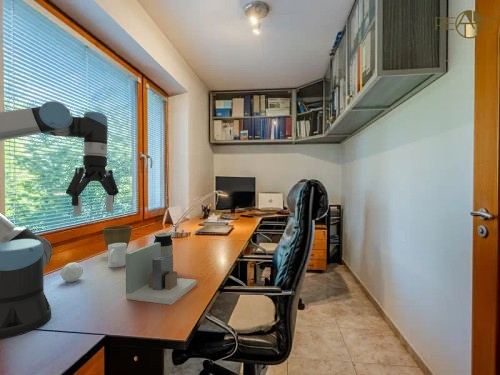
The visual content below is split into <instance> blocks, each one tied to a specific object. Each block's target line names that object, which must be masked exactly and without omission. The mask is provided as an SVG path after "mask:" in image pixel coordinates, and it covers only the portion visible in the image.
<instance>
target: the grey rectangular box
mask: <svg viewBox="0 0 500 375" xmlns="http://www.w3.org/2000/svg"><path fill="white" fill-rule="evenodd" d="M152 270H153V290H159V291H162V290H163V289H165V275H167V274H169V273H170V272H172V271H174V253H173V254H163V255H161V256H159V257H157V258H155V259H152Z"/></svg>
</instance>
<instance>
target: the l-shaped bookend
mask: <svg viewBox="0 0 500 375" xmlns="http://www.w3.org/2000/svg"><path fill="white" fill-rule="evenodd" d="M159 256H161V243H158V242H156V243H154V242H153V243H151V244H148V245H145V246H143V247H140V248H136V249H134V250H132V251H127V253H125V262H126V265H125V300H131V301H132V300H133V301H139V302H146V303H155V304H162V305H169V306H171V305H173V304H174V303H176V302H177V301H178V300H179V299H181V298H182V297H183V296H185V294H187V293H188V292H189V291H190V290H191V289H193V288H195V286H197V279H192V278H191V279H190V278H182V277H178V271H174V270H173V271H172V272H170V273H169V274H167V275H165V289H163V290H162V291H159V290H153V270H152V259H155V258H157V257H159Z"/></svg>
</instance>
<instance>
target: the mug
mask: <svg viewBox="0 0 500 375" xmlns="http://www.w3.org/2000/svg"><path fill="white" fill-rule="evenodd" d="M127 249H128V247H127V244H126V243H114V244H110V245H108V250H107V260H108V261H107V262H108V264H107V265H108V267H109V268H114V269H115V268H121V267H124V266H125V267H126V262H125V253H128V250H127Z"/></svg>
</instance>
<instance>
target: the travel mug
mask: <svg viewBox="0 0 500 375" xmlns="http://www.w3.org/2000/svg"><path fill="white" fill-rule="evenodd" d="M153 235H154V237H155V238H154V240H153V243H156V242H158V243H161V255H163V254H173V255H174V253H173V248H174V247H173V239H172V235H173V233H172V232H157V233H154V234H153Z"/></svg>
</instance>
